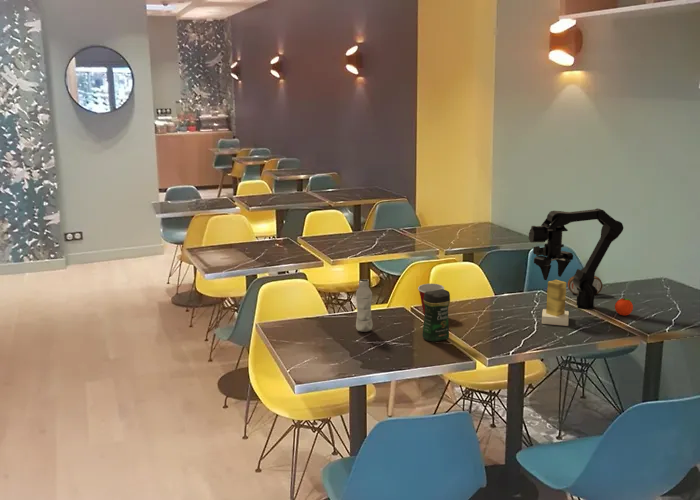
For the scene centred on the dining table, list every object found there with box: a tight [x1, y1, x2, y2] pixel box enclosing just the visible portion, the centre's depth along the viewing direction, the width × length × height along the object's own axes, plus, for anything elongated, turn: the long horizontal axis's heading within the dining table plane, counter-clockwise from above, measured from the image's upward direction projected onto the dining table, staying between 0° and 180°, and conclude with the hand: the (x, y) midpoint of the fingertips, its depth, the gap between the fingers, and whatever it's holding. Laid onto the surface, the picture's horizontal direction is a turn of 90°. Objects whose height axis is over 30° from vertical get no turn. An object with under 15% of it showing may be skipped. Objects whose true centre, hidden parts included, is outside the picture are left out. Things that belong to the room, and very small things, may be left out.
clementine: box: [614, 298, 635, 316], centre depth 289 cm, size 8×7×7 cm
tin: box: [566, 275, 603, 295], centre depth 320 cm, size 15×3×8 cm, turn 84°
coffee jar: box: [421, 288, 451, 343], centre depth 263 cm, size 10×8×19 cm
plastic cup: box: [417, 283, 445, 316], centre depth 291 cm, size 11×11×12 cm
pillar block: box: [545, 279, 567, 316], centre depth 282 cm, size 5×5×13 cm
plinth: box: [541, 308, 570, 327], centre depth 284 cm, size 10×10×3 cm
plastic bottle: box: [355, 278, 373, 333], centre depth 272 cm, size 6×7×20 cm
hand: (552, 278), depth 297 cm, fingers open, 9 cm apart
